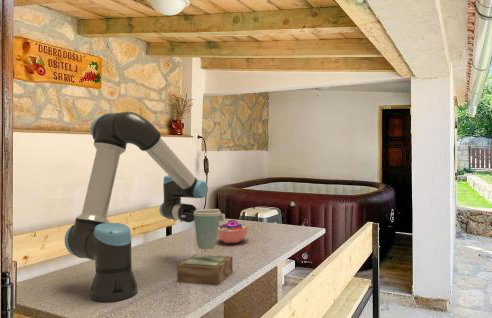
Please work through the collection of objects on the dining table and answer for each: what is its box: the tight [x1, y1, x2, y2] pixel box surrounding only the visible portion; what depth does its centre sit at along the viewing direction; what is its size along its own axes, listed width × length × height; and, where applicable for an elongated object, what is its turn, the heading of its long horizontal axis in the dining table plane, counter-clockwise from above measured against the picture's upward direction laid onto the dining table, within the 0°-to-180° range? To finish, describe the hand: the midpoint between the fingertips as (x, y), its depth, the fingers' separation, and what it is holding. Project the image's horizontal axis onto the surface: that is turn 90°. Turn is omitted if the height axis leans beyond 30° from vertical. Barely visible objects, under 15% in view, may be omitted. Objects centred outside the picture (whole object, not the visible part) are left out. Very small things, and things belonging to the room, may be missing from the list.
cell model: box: [217, 219, 248, 244], centre depth 210 cm, size 17×20×11 cm
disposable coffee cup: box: [193, 208, 222, 250], centre depth 154 cm, size 11×11×15 cm
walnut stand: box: [176, 254, 234, 286], centre depth 153 cm, size 16×16×6 cm
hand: (220, 218), depth 154 cm, fingers closed on disposable coffee cup, 3 cm apart
